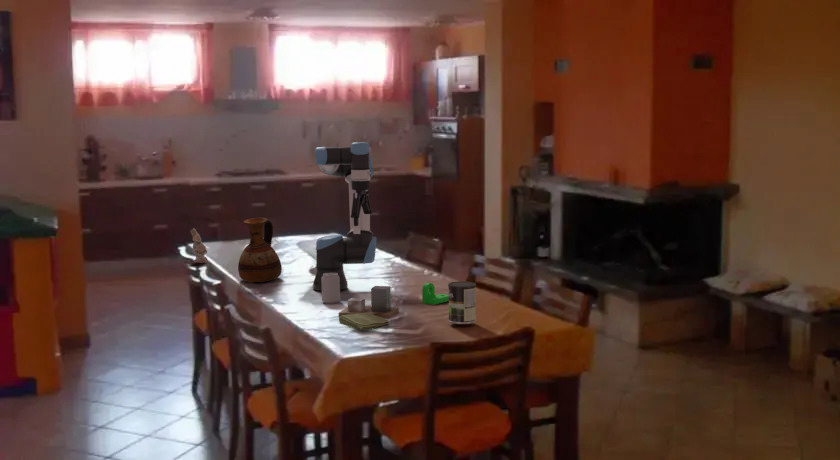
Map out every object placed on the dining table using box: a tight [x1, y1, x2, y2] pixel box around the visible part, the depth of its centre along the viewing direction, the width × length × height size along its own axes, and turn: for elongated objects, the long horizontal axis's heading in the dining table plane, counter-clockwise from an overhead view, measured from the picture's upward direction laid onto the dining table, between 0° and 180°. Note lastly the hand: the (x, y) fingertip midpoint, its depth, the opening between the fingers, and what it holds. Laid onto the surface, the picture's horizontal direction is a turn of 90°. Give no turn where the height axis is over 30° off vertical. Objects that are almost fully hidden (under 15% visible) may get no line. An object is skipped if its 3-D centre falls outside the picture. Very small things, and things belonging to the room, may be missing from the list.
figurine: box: [190, 228, 208, 264], centre depth 481 cm, size 9×8×20 cm
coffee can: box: [447, 280, 477, 325], centre depth 347 cm, size 10×10×14 cm
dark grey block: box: [370, 285, 392, 312], centre depth 361 cm, size 6×6×9 cm
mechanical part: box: [421, 282, 449, 306], centre depth 385 cm, size 12×6×8 cm, turn 140°
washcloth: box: [338, 313, 390, 331], centre depth 346 cm, size 13×18×3 cm
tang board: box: [338, 297, 400, 320], centre depth 362 cm, size 20×14×6 cm
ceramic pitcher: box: [237, 216, 283, 283], centre depth 436 cm, size 20×20×30 cm
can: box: [321, 273, 341, 305], centre depth 386 cm, size 8×8×12 cm
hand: (361, 231), depth 386 cm, fingers open, 13 cm apart
